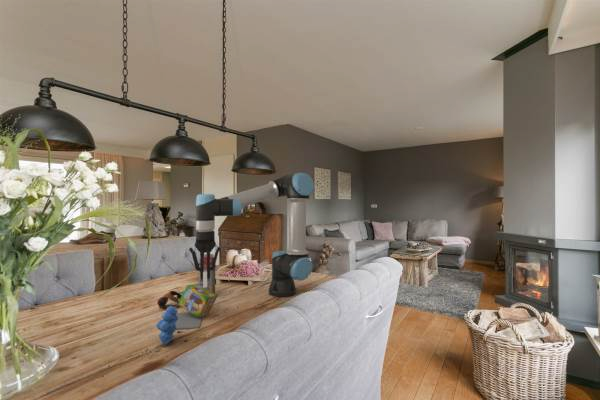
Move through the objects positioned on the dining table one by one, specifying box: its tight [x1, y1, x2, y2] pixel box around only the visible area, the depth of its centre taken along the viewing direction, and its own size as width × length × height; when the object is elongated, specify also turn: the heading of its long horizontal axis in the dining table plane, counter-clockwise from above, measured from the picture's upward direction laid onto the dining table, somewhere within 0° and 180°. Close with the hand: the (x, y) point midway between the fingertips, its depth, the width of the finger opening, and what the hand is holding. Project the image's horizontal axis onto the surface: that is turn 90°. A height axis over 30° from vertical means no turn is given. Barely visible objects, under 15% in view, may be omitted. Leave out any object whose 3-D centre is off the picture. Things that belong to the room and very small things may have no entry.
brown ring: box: [157, 290, 183, 309], centre depth 135 cm, size 12×10×8 cm
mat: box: [159, 311, 204, 332], centre depth 120 cm, size 14×17×1 cm
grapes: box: [155, 305, 179, 346], centre depth 102 cm, size 12×7×12 cm, turn 3°
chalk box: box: [177, 283, 219, 318], centre depth 126 cm, size 9×9×15 cm
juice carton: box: [197, 253, 216, 294], centre depth 154 cm, size 7×7×22 cm
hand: (205, 286), depth 122 cm, fingers closed
